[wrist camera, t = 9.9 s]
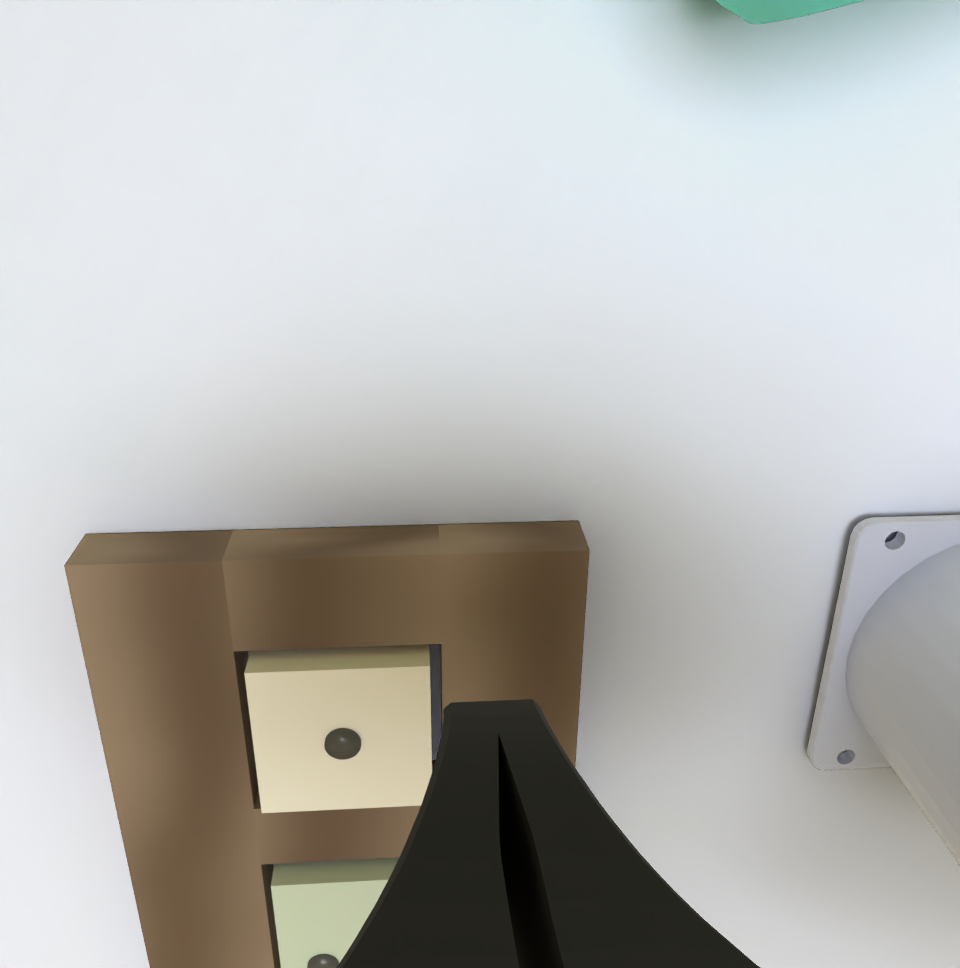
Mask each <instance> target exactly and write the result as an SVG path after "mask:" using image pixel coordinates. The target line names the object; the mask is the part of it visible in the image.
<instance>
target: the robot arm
mask: <svg viewBox="0 0 960 968" xmlns="http://www.w3.org/2000/svg"><path fill="white" fill-rule="evenodd" d="M896 531H898V533H897V535H896V537H895V538H894V539H893V540H892V541H889V542H886V543H885V540H886V538H887V536H888V535H889V534H891V533H892V532H896ZM845 750H847V751H846V752H845V753H843V754H840V755H839V753H841V752H842V751H845ZM807 756H808V757H809V759H810V761H811V763H812V764H813V766H814V767H815V768H817V769H819V770H843V769H864V768H885V767H892V768H893V770H894V771H895V772H896V774H897V775H898V777H899V778H900V780H901V781H902V783H903V784H904V785H905V787H906V788H907V790H908V791H909V793H910V794H911V796H912V797H913V799H914V800H915V801H916V803H917V804H918V806H919V807H920V809H921V810H922V812H923V813H924V814H925V816H926V817H927V819H928V820H929V822H930V823H931V825H932V826H933V828H934V829H935V830H936V832H937V833H938V835H939V836H940V838H941V839H942V841H943V842H944V844H945V845H946V846H947V848H948V849H949V851H950V852H951V854H952V855H953V857H954V858H955V859H956V861H957V862H958V864H959V865H960V515H938V516H902V517H872V518H867V519H864V520H863V521H861V522H859V523H858V524H857V525H856V526H855V527H854V528H853V531H852V533H851V536H850V541H849V546H848V550H847V555H846V560H845V565H844V570H843V575H842V580H841V585H840V590H839V595H838V600H837V605H836V610H835V615H834V620H833V625H832V630H831V635H830V639H829V644H828V649H827V654H826V659H825V664H824V669H823V674H822V679H821V684H820V689H819V694H818V699H817V704H816V709H815V714H814V719H813V724H812V729H811V733H810V738H809V743H808V748H807ZM336 968H760V967H759V966H757V965H756V964H755V963H754V962H752V961H751V960H750V959H749V958H748V957H747V956H745V955H744V954H743V953H742V952H741V951H740V950H739V949H737V948H736V947H735V946H734V945H733V944H732V943H730V942H729V941H728V940H727V939H726V938H725V937H723V936H722V935H721V934H720V933H719V932H718V931H717V930H715V929H714V928H713V927H712V926H711V925H710V924H708V923H707V922H706V921H705V920H704V919H703V918H702V917H701V916H700V915H699V914H698V913H697V912H696V911H694V910H693V909H692V908H691V907H690V906H689V905H688V904H687V903H686V902H685V901H684V900H683V899H682V898H681V897H680V896H679V895H678V894H677V893H676V892H675V891H674V890H673V889H672V888H671V887H670V886H669V885H668V884H667V882H666V881H665V880H664V879H663V878H662V877H661V876H660V875H659V874H658V873H657V872H656V871H655V870H654V869H653V868H652V867H651V865H650V864H649V863H648V862H647V861H646V860H645V859H644V858H643V856H642V855H641V854H640V853H639V852H638V851H637V849H636V848H635V847H634V846H633V845H632V844H631V842H630V841H629V840H628V839H627V837H626V836H625V835H624V834H623V832H622V831H621V830H620V829H619V827H618V826H617V825H616V824H615V823H614V821H613V820H612V819H611V817H610V816H609V815H608V813H607V812H606V811H605V810H604V808H603V807H602V806H601V804H600V803H599V801H598V800H597V799H596V797H595V796H594V794H593V793H592V792H591V790H590V789H589V787H588V786H587V784H586V783H585V782H584V780H583V779H582V777H581V776H580V775H579V773H578V772H577V770H576V768H575V767H574V765H573V764H572V762H571V761H570V759H569V758H568V756H567V754H566V753H565V751H564V750H563V748H562V746H561V745H560V743H559V741H558V740H557V738H556V736H555V735H554V733H553V731H552V729H551V727H550V726H549V724H548V722H547V720H546V718H545V716H544V714H543V712H542V710H541V708H540V706H539V705H538V704H537V703H536V702H535V701H534V700H533V699H524V700H499V701H475V702H451V703H450V704H449V705H447V706H446V707H445V708H444V709H443V728H442V735H441V740H440V745H439V749H438V753H437V757H436V761H435V765H434V768H433V771H432V774H431V777H430V780H429V783H428V787H427V790H426V793H425V796H424V799H423V802H422V804H421V807H420V810H419V812H418V815H417V817H416V820H415V822H414V824H413V827H412V829H411V831H410V834H409V836H408V839H407V841H406V843H405V846H404V848H403V850H402V853H401V855H400V857H399V859H398V861H397V863H396V865H395V867H394V870H393V872H392V874H391V876H390V878H389V880H388V882H387V883H386V885H385V887H384V889H383V891H382V893H381V895H380V897H379V899H378V900H377V902H376V904H375V906H374V908H373V909H372V911H371V913H370V914H369V916H368V918H367V919H366V921H365V923H364V925H363V926H362V928H361V930H360V931H359V933H358V935H357V936H356V938H355V940H354V941H353V943H352V945H351V946H350V948H349V949H348V951H347V952H346V954H345V955H344V957H343V959H342V960H341V962H340V963H339V965H338V966H337V967H336Z"/></svg>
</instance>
